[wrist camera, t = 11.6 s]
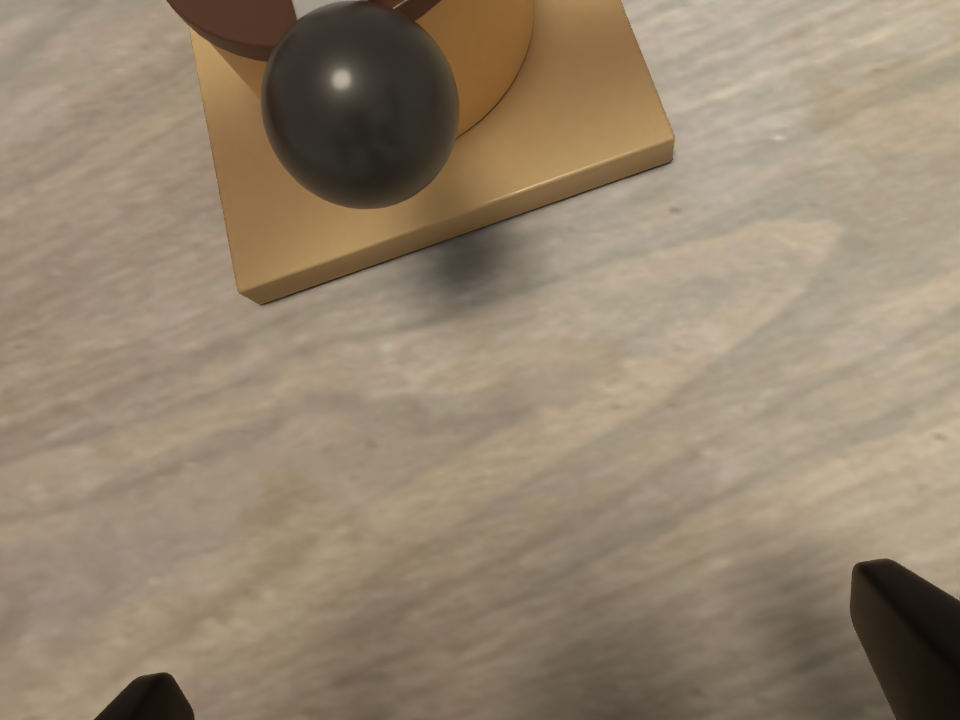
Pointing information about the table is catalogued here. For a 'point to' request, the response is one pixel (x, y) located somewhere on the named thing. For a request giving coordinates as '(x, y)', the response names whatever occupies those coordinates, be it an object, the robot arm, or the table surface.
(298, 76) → the blade
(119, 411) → the table surface
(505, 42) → the cake
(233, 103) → the slicer
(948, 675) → the robot arm
